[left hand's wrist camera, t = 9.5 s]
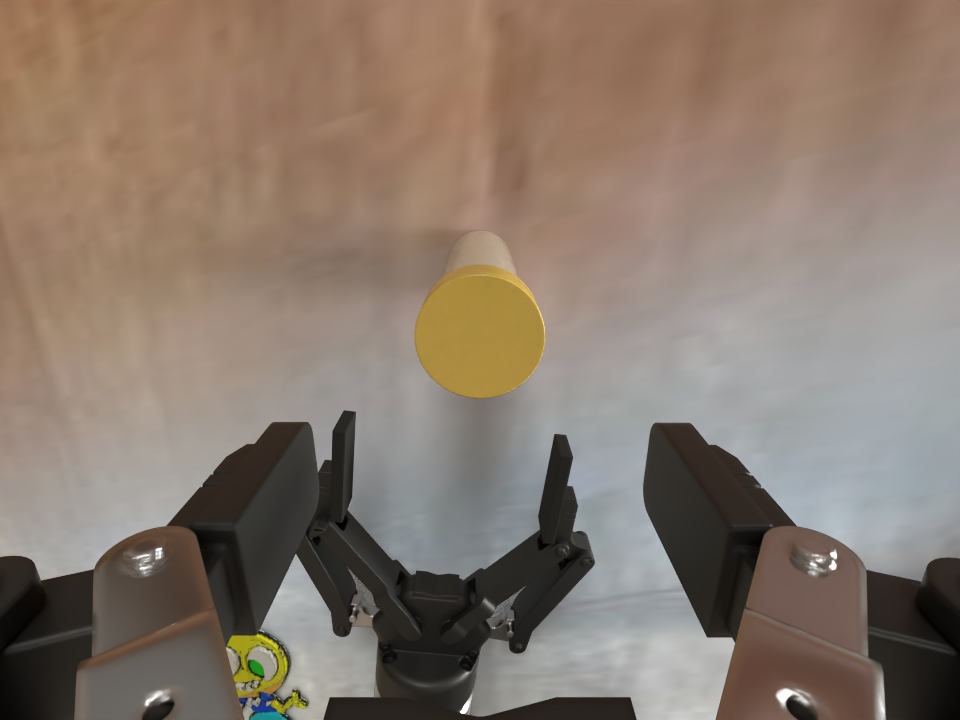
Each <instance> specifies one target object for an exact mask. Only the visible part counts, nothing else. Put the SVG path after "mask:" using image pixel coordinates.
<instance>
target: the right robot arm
mask: <svg viewBox="0 0 960 720" xmlns="http://www.w3.org/2000/svg"><path fill="white" fill-rule="evenodd" d="M355 418H356V412H353V411H343V413H342V415H341V417H340V419H339V420H338V422H337V424H336V426H335V428H334V429H333V436H332V460H325V461H324V463H323V465H322V467H321V469H320V470H319V472H318V478H319V500H318V505H317V509H316V511H315V514H314V516H313V518H312V520H311V522H310V524H309V526H308V529H307V531H306V533H305V535H304V537H303V539H302V541H301V543H300V545H299V547H298V550H297V552H296V554H297V556H298V558H299V559H300V561H301V563H302V564H303V566H304V568H305V569H306V571H307V573H308V574H309V576H310V578H311V580H312V581H313V583H314V585H315V586H316V588H317V590H318V591H319V593H320V595H321V596H322V598H323V600H324V601H325V603H326V605H327V606H328V608H329V610H330V611H331V617H332V625H333V631H334V633H335V634H336V635H337V636H340V637H345V636H348V635H349V634H350V631H351V627H352V626H358V627H373V629H374V631H375V632H376V634H377V636H378V650H377V663H376V682H375V689H374V697H404V698H408V699H411V700H415V701H419V702H423V703H426V704H430V705H434V706H438V707H441V708H445V709H449V710H452V711H456V712H460V713H464V714H467V715H469V714H470V708H471V702H472V695H473V688H474V683H475V678H476V672H477V666H478V660H479V654H480V649H481V647H482V645H483V644H484V643H485V642H486V641H487V640H488V638H492V639H498V640H503V641H509V649H510V651H512V652H513V653H522V652H524V651H525V649H526V647H527V644H528V642H529V639H530V636H531V634H532V631H533V630H534V629H535V628H536V627H537V626H538V625H539V624H540V623H541V622H542V621H543V620H544V618H545V617H546V616H547V615H548V614H549V613H550V612H551V611H552V610H553V609H554V608H555V607H556V606H557V605H558V603H559V602H560V601H561V600H562V599H563V598H564V597H565V596H566V595H567V594H568V593H569V592H570V591H571V590H572V588H573V587H574V586H575V585H576V584H577V583H578V582H579V581H580V580H581V579H582V578H583V577H584V576H585V575H586V574H587V572H588V571H589V570H590V569H591V568H592V567H593V566H594V564H595V561H594V557H593V554H592V550H591V547H590V543H589V540H588V536H587V534H586V533H585V532H582V531H577V532H573V531H572V530H573V525H574V521H575V517H576V512H577V508H578V505H577V500H576V497H575V493H574V490H573V487H572V486H567V483H568V478H569V474H570V469H571V464H572V460H573V456H572V452H571V449H570V446H569V443H568V440H567V437H566V435H560V434H555V435H554V440H553V445H552V450H551V455H550V460H549V465H548V470H547V475H546V480H545V485H544V490H543V495H542V500H541V505H540V510H539V515H538V518H539V524H540V530H539V531H538V532H536V533H535V534H533V535H532V536H531V537H529V538H528V539H527V540H525V541H524V542H522V543H521V544H520V545H518V546H517V547H516V548H514V549H513V550H511V551H510V552H509V553H507V554H506V555H505V556H503V557H502V558H500V559H499V560H498V561H496V562H495V563H494V564H492V565H491V566H489V567H488V568H487V569H485V570H484V569H482V568H480V569H478V570H477V571H476V572H474V573H473V574H471V575H470V576H469V577H467V578H466V579H465V580H462V579H460V578H459V575H456V574H443V575H436V574H433V573H430V572H425V571H416V574H413V575H410V574H409V572H408V571H407V570H406V569H405V568H404V567H403V566H402V565H401V563H400V562H399V561H398V560H394V561H393V560H391V558H390V557H389V556H388V555H387V554H386V553H385V552H384V551H383V549H382V548H381V547H380V546H379V545H378V544H377V543H376V542H375V540H374V539H373V538H372V537H371V536H370V535H369V534H368V533H367V532H366V530H365V529H364V528H363V527H362V526H361V525H360V524H359V523H358V521H357V520H356V519H355V518H354V517H353V516H352V515H351V514H350V512H349V511H348V510H347V509H348V506H349V504H350V501H351V498H352V486H353V463H354V441H355ZM347 567H348V568H349V569H350V570H351V571H352V572H353V573H354V575H355V576H356V577H357V578H358V579H359V580H360V581H361V582H362V583H363V584H364V585H365V586H366V587H367V588H368V589H369V591H370V592H371V593H372V594H373V598H374V602H375V604H376V606H371V605H369V604H368V603H367V602H366V600H365V598H364V597H363V591H361V590H358V591H357V590H356V585H355V582H354V579H353V577H352V575H351V574H350V572H349V570H348V568H347ZM525 586H526V587H525ZM523 587H525V588H524V589H523V590H522V591H521V592H520V593H519V595H518V596H517V597H516V599H515V601H514V602H513V605H512V606H511V605H507V606H505V611H503V612H502V614H501V615H500V616H499V617H496V618H491V617H490V616H491V615H492V614H493V613H494V611H495V609H496V607H497V606H498V605H499V604H500V603H502V602H503V601H505V600H506V599H507V598H509V597H510V596H512V595H513V594H515V593H516V592H517V591H519V590H520V589H522V588H523Z"/></svg>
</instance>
